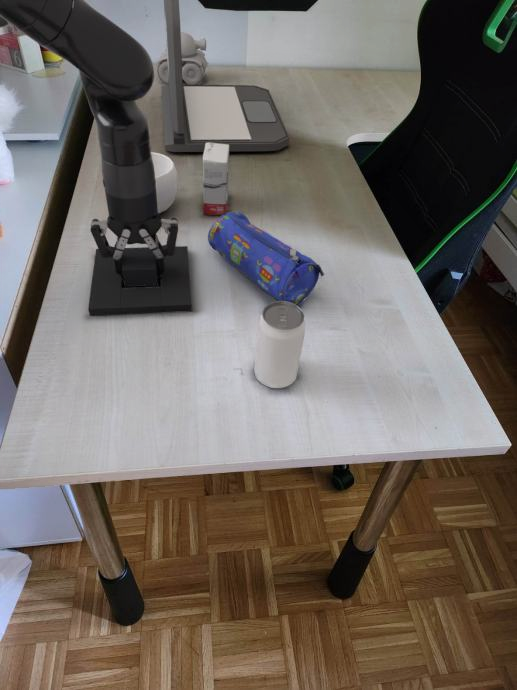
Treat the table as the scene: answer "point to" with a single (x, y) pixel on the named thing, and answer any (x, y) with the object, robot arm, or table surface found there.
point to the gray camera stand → (214, 107)
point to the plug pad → (139, 268)
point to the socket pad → (141, 288)
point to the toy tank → (186, 61)
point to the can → (279, 344)
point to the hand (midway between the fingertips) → (141, 273)
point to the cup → (164, 180)
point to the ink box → (215, 178)
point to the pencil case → (264, 258)
